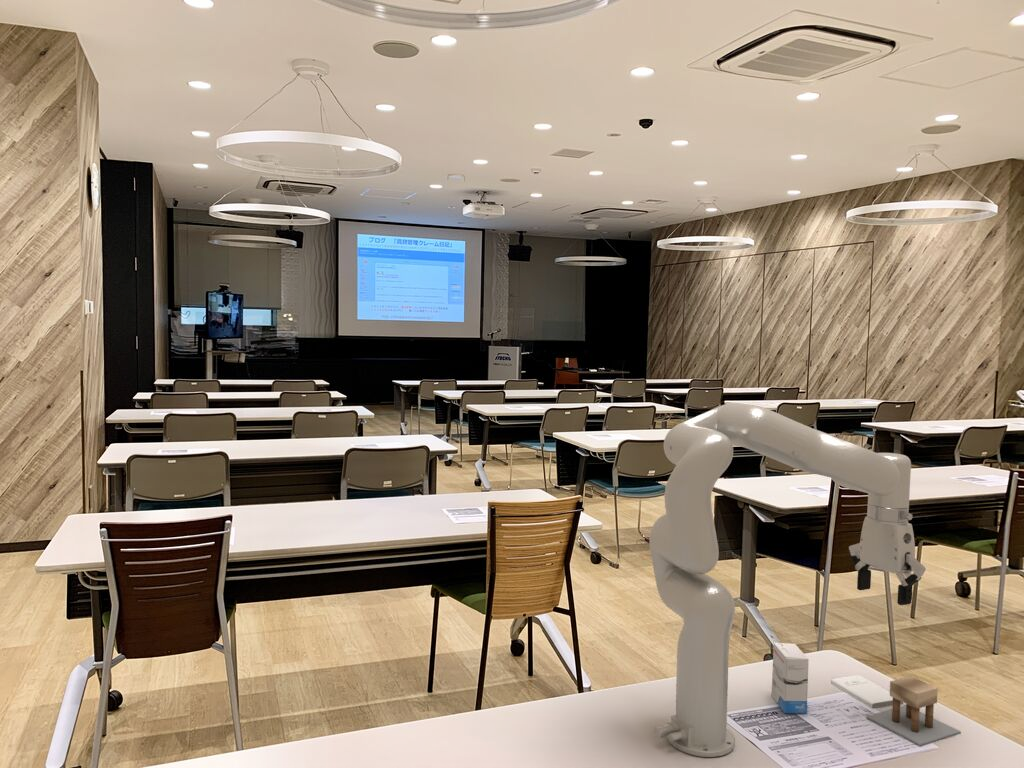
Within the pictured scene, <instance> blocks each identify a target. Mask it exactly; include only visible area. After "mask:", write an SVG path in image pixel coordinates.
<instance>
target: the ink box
mask: <svg viewBox="0 0 1024 768" xmlns="http://www.w3.org/2000/svg"><path fill="white" fill-rule="evenodd" d="M772 650H773V651H772V652H773V654H772V676H771V697H772V698H773V699H774V701H776V703H777V705H778V707H780V709H781V710H782V712H783V713H784V714H803V715H804V714H807V713H808V688H809V687H808V686H809V685H808V683H809V682H808V681H809V660H810V659H809V658H808V657H807V656H806V654H804V652H803V651H802V650H801V648H799V646H797V644H796V643H787V642H786V643H785V642H774V643H773V649H772Z"/></svg>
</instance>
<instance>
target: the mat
mask: <svg viewBox="0 0 1024 768" xmlns="http://www.w3.org/2000/svg"><path fill="white" fill-rule="evenodd" d="M865 719H867V720H869V721H871V722H872V721H873V723H875V724H877V725H879V726H880V727H882V728H884V729H886V730H888V731H889V732H891V731H892V733H893V734H895V735H897V736H899V737H900V738H901V737H902V738H903V739H904V740H906V741H909V742H910V743H913V744H914V745H916V746H918V747H923V746H926V745H929V744H932V743H936V742H939V741H943V740H945V739H947V738H951V737H954V736H957V735H959V734H961V733H962V732H961V730H959V729H956V728H955V727H952V726H950V725H948V724H946V723H945V722H943V721H940V720H938V719H936V718H934V717H933V728H927V727H925V712H924V713H923V712H921V711H920V713H919V732H918V733H916V732H912V731H911V719H910V718H907V717H906V704H903V705H900V722H899V723H895V722H893V721H892V708H890V709H887V710H884V711H880V712H876V713H873V714H869V715H866V716H865Z"/></svg>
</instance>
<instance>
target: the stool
mask: <svg viewBox="0 0 1024 768" xmlns="http://www.w3.org/2000/svg"><path fill="white" fill-rule="evenodd" d="M889 692H890V696H891V697H893V703H892V705H891V706H892V707H891V709H892V721H893V722H895V723H899V722H900V706H901V704H900V701H901V702H903V704H905V705H906V717H907V718H910V719H911V731H912V732H916V733H918V732H919V713H920V712H921V711H920V709H921V708H925V711H924V714H925V727H927V728H933V718H934V710H935V709H934V708H935V707H934V705H935V704H938V687H936V686H934V685H931V684H929V683H927V682H925V681H922V680H920V679H917V678H916V677H913V676H912V675H911V676H905V677H902V678H901V677H900V678H899V679H894V680H891V681H890V682H889Z"/></svg>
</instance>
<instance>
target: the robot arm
mask: <svg viewBox="0 0 1024 768" xmlns="http://www.w3.org/2000/svg"><path fill="white" fill-rule="evenodd" d="M734 446H736V447H742V448H744V449H748V450H750V451H752V452H755V453H757V454H760V455H762V456H765V457H767V458H770V459H772V460H775V461H777V462H780V463H782V464H784V465H787V466H789V467H792V468H793V469H797V470H800V471H803V472H806V473H810V474H814V475H817V476H818V475H819V476H822V477H823V476H824V477H827V478H830V479H831V480H832V481H833V483H835V484H837V485H838V486H841V487H842V488H845V489H848V490H849V489H850V490H854V491H859V492H861V493H862V492H863V493H864V494H865V493H866V494H867V495H868V496H867V510H866V511H867V513H866V516H865V517H864V520H863V523H862V528H861V531H860V533H861V534H860V540H859V542H858V543H855V544H852V545H849V546H848V550H849V553H850V556H851V561H852V562H853V564H854V569H855V571H857V583H856V584H857V585H856V589H857V590H858V591H865V590H871V583H872V570H871V569H870V568H871V567H872V568H874V569H879V570H882V571H884V572H889V573H891V574H895V575H896V577H897V578H898V580H899V582H900V584H898V586H897V602H896V603H897V605H898V606H904V605H905V606H906V605H911V604H912V599H913V586H915V585H916V584H917V582H919V581H921V579H922V577H923V575H924V574H925V572H926V570H927V569H926V567H925V565H924V564H922V563H921V562H920V561H919V560H918V559H916V544H915V543H916V542H915V537H914V536H915V535H914V534H915V533H914V530H913V529H914V528H913V525H912V523H909V521H911V520H912V519H913V513H909V510H910V493H911V492H910V491H911V490H910V489H911V474H912V461H911V459H910V458H909V456H907V455H905V454H901V453H897V452H896V453H895V452H894V453H893V452H875V451H872V450H870V449H868V448H865V447H863V446H860V445H859V444H855V443H852V442H849V441H846V440H844V439H841V438H839V437H835V436H834V435H831V434H828V433H827V432H824V431H821V430H818V429H815V428H812V427H810V426H809V425H806V424H804V423H801V422H798V421H796V420H793V419H791V418H789V417H787V416H784V415H782V414H781V413H778V412H776V411H773V410H771V409H768V408H767V407H766V408H765V407H763V406H761V405H759V406H758V405H754V404H750V403H749V404H748V403H741V402H740V403H739V402H729V403H726V404H722V405H719V406H717V407H715V408H712V409H710V410H708V411H705V412H703V413H701V414H698V415H696V416H694V417H691V418H689V419H687V420H685V421H683V422H680V423H678V424H677V425H674V426H673V427H672V428H671V429H670V430H669V431H668V432H667V434H666V435H665V437H664V440H663V450H664V451H663V452H664V454H665V457H666V458H667V459H668V461H670V462H671V463H672V464H674V465H675V467H674V468H673V470H672V472H671V473H670V475H669V477H668V479H667V481H666V485H665V488H664V508H665V514H662V516H660V517H659V518H658V519H656V521H655V522H654V523H653V525H652V526H651V529H650V532H649V542H648V543H649V551H650V558H651V561H652V568H653V573H654V578H655V584H656V589H657V591H658V594H659V597H660V599H661V601H662V603H663V604H664V605H665V606H666V607H667V608H668V609H669V610H671V611H673V612H674V613H675V614H677V615H678V616H679V617H680V618H681V619H682V620H683V625H682V629H681V631H680V633H679V637H678V639H677V646H676V647H677V648H676V681H675V682H676V683H675V684H676V685H675V686H676V687H675V688H676V689H675V714H673V715H670V722H669V721H668V722H667V723H666V724H665V725H660V726H657V727H654V735H655V737H656V738H657V739H662V738H665V737H667V741H668V742H669V744H671V745H672V746H673V747H675V748H676V749H677V750H679V751H681V752H683V753H686V754H688V755H692V756H697V757H702V758H715V757H717V758H718V757H722V756H725V755H727V754H730V753H731V752H732V751H733V750H734V748H735V743H736V742H735V737H734V734H733V732H731V731H730V730H729V729H728V728H727V727H728V726H727V723H728V722H727V721H728V718H727V717H728V692H729V689H728V685H729V683H728V682H729V655H730V653H729V651H730V638H731V633H732V628H733V623H734V619H735V615H736V605H735V600H734V597H733V596H732V593H731V591H730V590H728V588H727V586H725V585H724V584H723V583H722V582H720V581H718V580H717V579H715V578H713V577H712V576H710V575H708V573H709V572H710V573H711V571H713V570H714V569H715V567H716V565H717V564H718V561H719V556H720V554H719V551H720V550H719V543H718V538H717V532H716V526H715V521H714V516H713V507H712V505H713V504H712V492H713V490H714V487H715V485H716V483H717V482H718V480H719V478H720V477H721V476H722V475H723V473H725V471H727V469H728V467H729V466H730V464H731V463H732V460H733V456H734Z"/></svg>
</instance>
